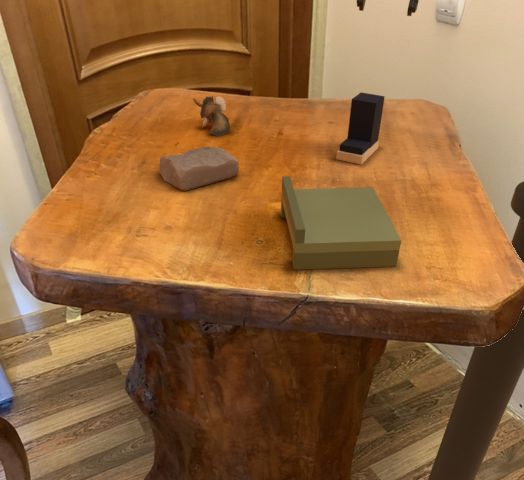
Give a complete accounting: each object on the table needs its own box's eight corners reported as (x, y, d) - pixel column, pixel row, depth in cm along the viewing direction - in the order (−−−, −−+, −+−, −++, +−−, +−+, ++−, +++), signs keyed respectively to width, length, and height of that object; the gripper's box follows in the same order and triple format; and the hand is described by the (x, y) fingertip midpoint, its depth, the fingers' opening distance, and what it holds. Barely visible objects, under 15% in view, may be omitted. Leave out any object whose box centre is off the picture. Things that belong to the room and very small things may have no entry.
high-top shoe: (353, 143, 108) (359, 92, 102) (377, 148, 106) (385, 96, 100) (335, 159, 102) (341, 105, 96) (361, 164, 100) (368, 110, 94)
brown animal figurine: (184, 117, 115) (192, 123, 107) (199, 84, 113) (209, 87, 105) (215, 135, 118) (226, 142, 111) (231, 103, 116) (242, 108, 109)
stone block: (155, 183, 97) (183, 193, 90) (151, 155, 95) (178, 162, 88) (213, 170, 103) (243, 178, 96) (210, 143, 100) (240, 149, 93)
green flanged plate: (369, 211, 87) (375, 174, 83) (396, 266, 75) (404, 226, 71) (280, 213, 86) (282, 176, 82) (293, 269, 74) (296, 229, 70)
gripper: (365, -101, 95) (344, -8, 95) (450, -96, 92) (427, 1, 92) (366, -68, 102) (346, 19, 102) (445, -62, 99) (424, 27, 100)
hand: (385, 10), depth 97 cm, fingers open, 8 cm apart
